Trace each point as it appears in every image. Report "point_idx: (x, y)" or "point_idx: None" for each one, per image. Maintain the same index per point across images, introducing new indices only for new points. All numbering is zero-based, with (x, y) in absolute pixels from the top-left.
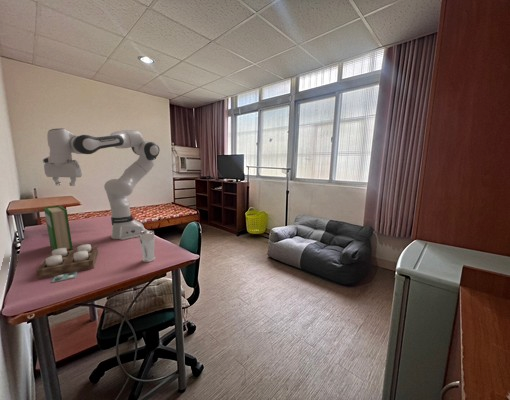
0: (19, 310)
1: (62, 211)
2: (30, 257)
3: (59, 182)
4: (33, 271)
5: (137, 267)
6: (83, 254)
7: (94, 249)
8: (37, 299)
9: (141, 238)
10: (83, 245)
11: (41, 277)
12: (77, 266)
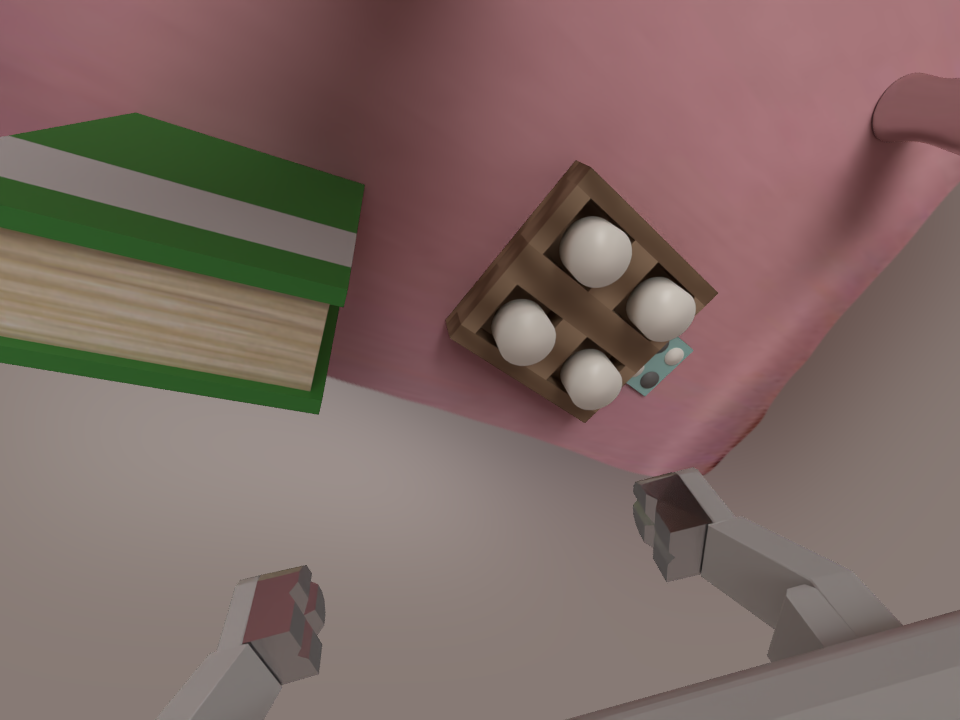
0: None
1: (326, 312)
2: None
3: (298, 637)
4: (489, 389)
5: (876, 198)
6: (692, 318)
7: (615, 206)
8: (690, 440)
9: None
10: (588, 253)
11: None
12: None
